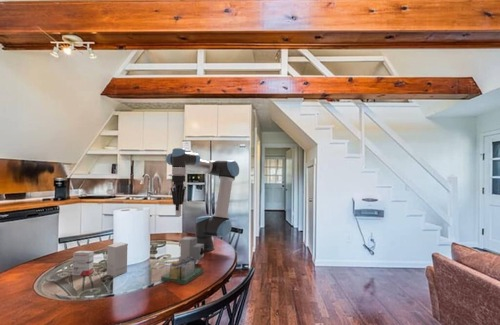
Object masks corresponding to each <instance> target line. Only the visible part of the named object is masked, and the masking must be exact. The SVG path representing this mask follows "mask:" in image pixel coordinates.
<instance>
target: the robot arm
mask: <svg viewBox="0 0 500 325" xmlns="http://www.w3.org/2000/svg"><path fill="white" fill-rule="evenodd" d="M165 157H166V158H165V161H166V163H167V164H168V165H169V166H171V175H172V176H171V182H172V183H173V186H172V187H170V191H171V196H172V198H171V199H172V204H173V205H175V217H181V216H182V205H184V202H185V196H186V195H185V193H186V189H187V186H185V185H184V182H186V168H188V169H193V170H197V171H200V172H203V173H205V174H209V175H211V176H216V177H218V179H219V187H218V192H217V194H218V195H217V198H216V199H217V200H216V206H215V211H214V212H215V213H214V214H213V215H205V216H199V217H196V218H195V237H197V244H204V250H205V252H211V251H213V250H214V249H215V245H214V240H213V237H218V238H226V237H227V236H228V235H229V234H230V233H231V230H232V227H233V226H232V221H230V217H229V207H230V199H231V191H232V187H233V186H232V185H233V182H234V181H235V179H236V177H238V175H239V174H240V166H239V164H238V162H237V161H236V160H231V159H228V160H227V159H226V160H222V159H221V160H210V159H206V160H205V159H201V155H200V154H199V153H196V152H186V149H185V148H180V147H179V148H178V147H177V148H173V149H172V153H168V154H167V155H166V156H165Z"/></svg>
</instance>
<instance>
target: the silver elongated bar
mask: <svg viewBox="0 0 500 325" xmlns="http://www.w3.org/2000/svg"><path fill="white" fill-rule="evenodd" d="M191 260H194V257H188V256H187V258H185V259H182V260H180V261H179V260H177V261H172V262H171V264H172V265H171V264H170V265H171V266H179V265H181V264H184V263H186V262H188V261H191Z"/></svg>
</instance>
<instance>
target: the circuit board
mask: <svg viewBox="0 0 500 325" xmlns="http://www.w3.org/2000/svg"><path fill="white" fill-rule="evenodd" d="M178 261H180V260H179V259H178ZM171 265H172V263H171V264H170V265H169V272H167V273H165V274H163V275H162V276H160V281H161V282H168V283H175V284H180V285H185V286H186V285H188V284H189V283H191V281H193V280H194V279H196V278H197V277H199V276H200V275H202V274H203V273H204V268H199V267H196V263H195V261H188V262H186V263H184V264H181V265H179V266H171Z"/></svg>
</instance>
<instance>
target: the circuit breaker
mask: <svg viewBox="0 0 500 325" xmlns="http://www.w3.org/2000/svg"><path fill="white" fill-rule="evenodd" d="M178 247H180V255H179V256H178V261H179V260H182V259H185V258H187V256H188V257H194V260H191V261H195V264H196V263H197V261H199V260H201V259H202V258H204V254H205V253H206V251H205V250H204V244H197V237H196V236H183V237H182V238H180V239H179V244H178Z"/></svg>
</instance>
